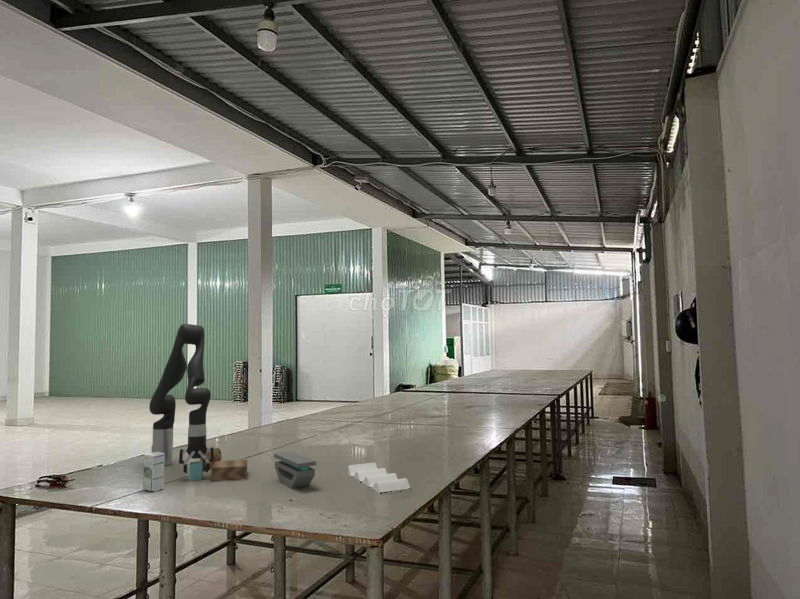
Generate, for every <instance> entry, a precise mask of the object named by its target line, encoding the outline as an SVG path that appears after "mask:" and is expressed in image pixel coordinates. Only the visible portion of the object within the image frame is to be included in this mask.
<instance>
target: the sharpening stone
mask: <svg viewBox="0 0 800 599" xmlns="http://www.w3.org/2000/svg"><path fill="white" fill-rule="evenodd" d="M273 458H274V459H277V460H279V461H274V469H275V472H276V474H277V478H278V481H279V483H281V484H282V485H284V486H285V485H286V487H287V486H288V488H289V487H290V488H289V489H295V488H302V486H303V487H308V486H307V485H309V486H310V484H311V483H312V480H313V479H314V477H315V476H316V469H315V468H313V467H314V466H315V467H316V466H317V461H316V460H314V459H312V458H308V457H305V456H303V455H301V454H298V453H296V452H294V451H285V452H278V453H277V452H274V453H273Z"/></svg>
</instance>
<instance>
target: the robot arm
mask: <svg viewBox="0 0 800 599" xmlns="http://www.w3.org/2000/svg"><path fill="white" fill-rule="evenodd" d="M185 345H192V346H195V351H194V353H193V355H192V357H191V358H190V360H189V362H188V363H187V359H186V358H185V355H184V351H183V347H184V346H185ZM204 351H205V329H204V327H203V326H202V325H198V324H190V323H182V324H180V326H179V328H178V330H177V332H176V336H175V339H174V343H173V347H172V350H171V353H170V355H169V357H168V360H167V363H166V364H165V367H164V370H163V371H162V372H163V373H162V375H161V378H160V381H159V382H158V384H157V388H156V389H155V390H154V393H153V394H152V397H151V399H150V401H149V412H150V414H152V415H153V416H154V415H155V416H156V415H157V416H158V415H163V416H162V417H161V418H159V420H156V421H155V422H153V424H152V441H151V442H152V444H151V452H160V453H164V467H166V466H169V465H172V464H173V459H174V458H173V457H174V456H173V455H174V454H173V453H174V424H175V421H176V420H175V415H176V409H177V408H176V406H177V405H176V404H177V403H176V398H175V396H174V395H172V394H168V393H170V391H172V390H173V389H174V388H175V387H176V386H178V385H179V383H180V382H182V380H183V379H184V376H185V373H186V374H187V387H186V390H185V394H184V401H185V403H186V404H187V405H190V406H192V405H193V406H196V405H200V407H199V408H197V409H193V410H191V411H189V413H188V427H187V428H188V430H187V448H181V449H180V450H179V458H178V464H181V465H182V466H183V467H182V468H183V469H182V471H183V473H184V474H185V475H187V474H188V462H189V461H190V460H191V459H194V460H195V459H201V458H203V459H204V460H205V461H206V462H207V463H206V469H205V473H208V472H210V470H211V469H210V462H213V461H214V447H213V446H211V447H207V410H208V407H209V403H210V401H211V394H212V393H211V390H210V389H209V388H207V387H199V386H201V385H203V384H204V383H205V379H206V378H205V370H204V369H205V368H204ZM197 387H199V388H197ZM206 451H209V453H211V459H208V457H207V456H206V455H205V453H206ZM185 453H186V454H187V455H188V456H187V457H186V458H185V460H183V457H184V455H185Z"/></svg>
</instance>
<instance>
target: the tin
mask: <svg viewBox="0 0 800 599" xmlns="http://www.w3.org/2000/svg"><path fill="white" fill-rule="evenodd" d="M205 455H206V456H207V457H208V459H211V453H209V451H208V450H207V451H206V453H205ZM200 461H203V470H206V463H207V462H206V461H205V460H204V459H203V458H200ZM215 461H222V452H221V450H220V448H219V447H215V448H214V461H213V462H210V469H209V470H211V468H212V466H213V464H214V462H215Z"/></svg>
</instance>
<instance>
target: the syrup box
mask: <svg viewBox="0 0 800 599" xmlns="http://www.w3.org/2000/svg"><path fill="white" fill-rule="evenodd" d="M160 489H162V490H164V489H165V466H164V453H160V452H146V453H144V454H143V491H145V490H148V491H147V492H149V491H155V492H157V491H156V490H159V491H161V490H160Z"/></svg>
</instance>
